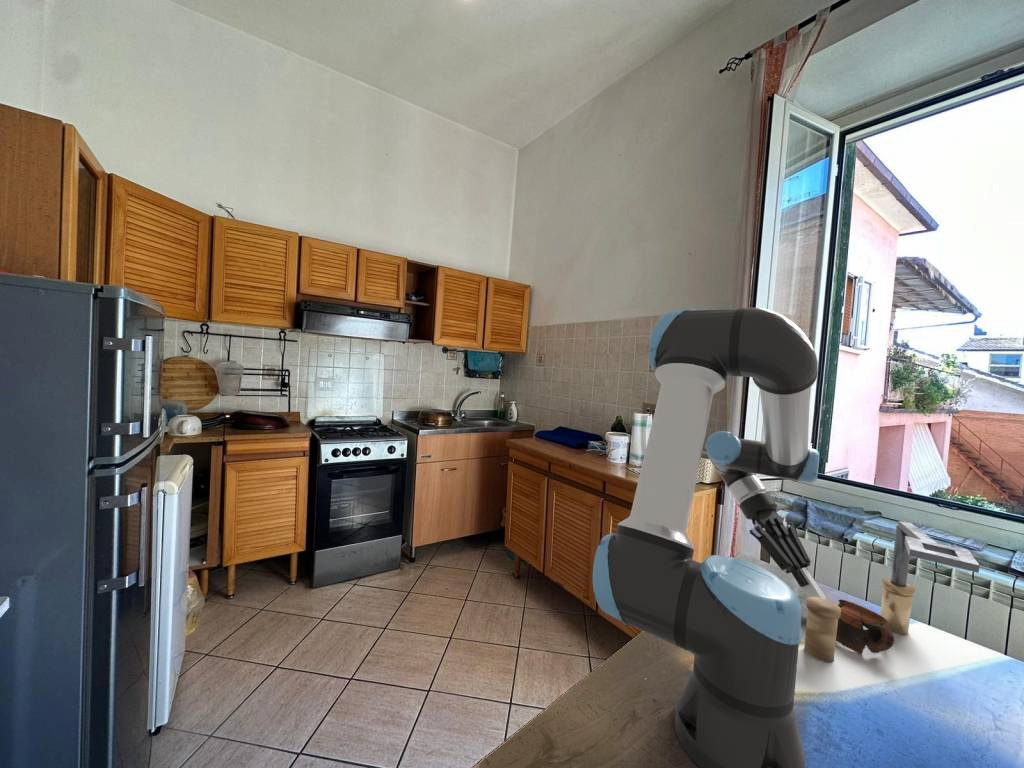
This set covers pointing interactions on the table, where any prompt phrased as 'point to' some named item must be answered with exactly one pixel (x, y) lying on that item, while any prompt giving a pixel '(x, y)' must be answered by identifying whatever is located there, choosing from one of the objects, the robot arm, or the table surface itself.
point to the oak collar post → (821, 628)
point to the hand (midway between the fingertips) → (819, 601)
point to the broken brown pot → (853, 631)
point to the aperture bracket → (896, 588)
